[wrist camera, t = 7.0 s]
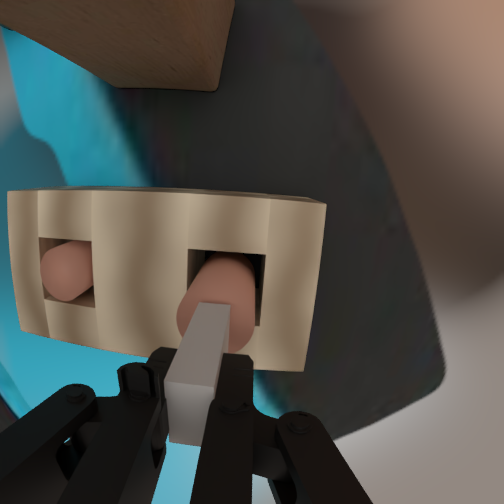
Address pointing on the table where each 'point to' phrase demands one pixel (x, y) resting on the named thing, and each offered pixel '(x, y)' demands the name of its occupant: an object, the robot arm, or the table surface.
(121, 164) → the table surface
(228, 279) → the peg
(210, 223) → the socket board
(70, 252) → the peg
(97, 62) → the wooden block
